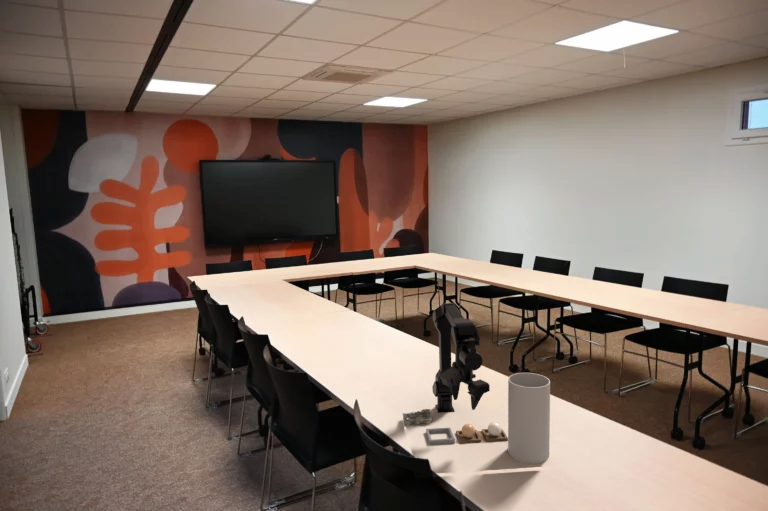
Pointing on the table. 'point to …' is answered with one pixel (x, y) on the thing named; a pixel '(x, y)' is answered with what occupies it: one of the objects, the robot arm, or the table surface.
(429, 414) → the egg carton
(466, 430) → the egg brown
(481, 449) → the table surface
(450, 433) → the dish
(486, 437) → the rack
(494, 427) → the white smooth ball
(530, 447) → the cylinder vase
